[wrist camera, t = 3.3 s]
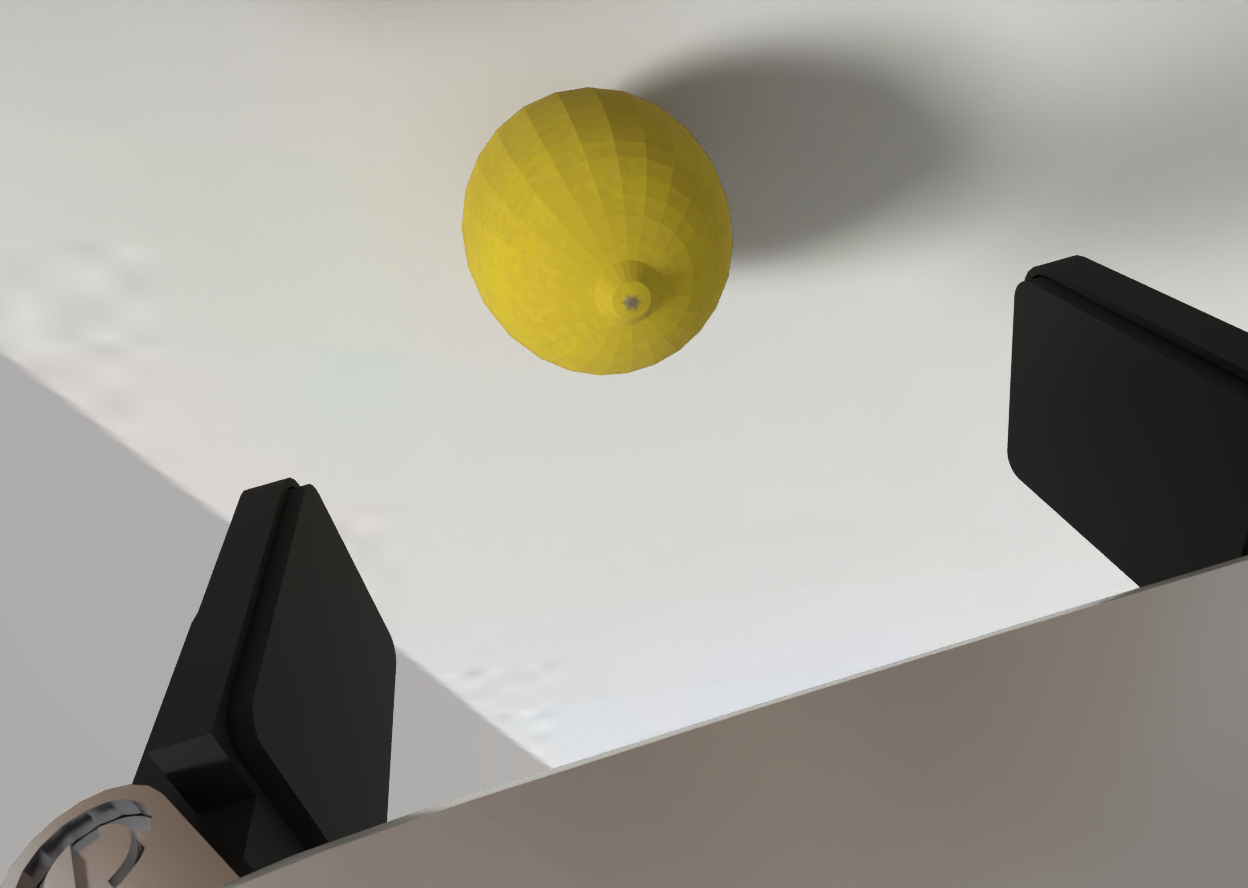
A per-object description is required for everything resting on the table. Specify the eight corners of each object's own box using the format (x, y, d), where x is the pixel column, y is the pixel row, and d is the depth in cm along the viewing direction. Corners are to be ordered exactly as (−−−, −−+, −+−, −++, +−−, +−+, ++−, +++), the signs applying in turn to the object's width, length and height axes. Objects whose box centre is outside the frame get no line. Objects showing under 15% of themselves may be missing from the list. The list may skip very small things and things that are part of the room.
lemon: (410, 165, 20) (396, 282, 13) (592, 11, 19) (676, 54, 12) (552, 327, 23) (599, 491, 16) (716, 201, 22) (840, 319, 15)
